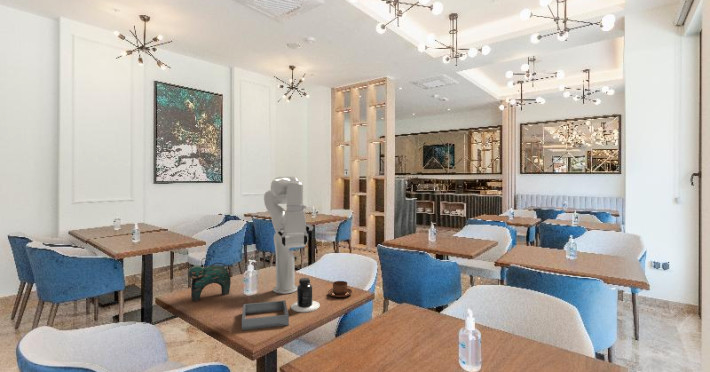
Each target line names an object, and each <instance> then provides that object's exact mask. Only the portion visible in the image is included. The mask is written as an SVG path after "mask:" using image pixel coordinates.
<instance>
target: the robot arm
mask: <svg viewBox="0 0 710 372" xmlns="http://www.w3.org/2000/svg"><path fill="white" fill-rule="evenodd" d="M263 202H264V207H265V208H266V211H267V212H268V214H269V215H270V218H271V222H272V227H273V229H274V231H275V232H274V234H273V242H274V247H275V248H274V250H275V251H274V252H275V286H274V287H273V289H272V292H273V293H275V294H283V295H285V294H291V293H295V292H297V287H298V286H297V285H295V282H296V281H295V276H296V275H295V255H294V254H293V252H292V251H291V249H293V248H302V247H303V248H304V247H305V246H307V245H308V242H309V237H308V236H309V235H310V234H311V233H312V231H313V229H314V226H313V225H311V224H309V223H307V222H306V219H307V218H306V213H305V209H307V206H306V205H304V185H303V183H302V182H301V181H300V180H299V179H298V177H295V176H277V177H275V178H274V179H273V180H272V181H271V183H270V189H269V190H267V191H266V192H265V193H264V195H263ZM281 205H286V210H285V209H284V207H282V206H281ZM307 227H308V228H309V229H308V230H307Z"/></svg>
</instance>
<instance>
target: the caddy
mask: <svg viewBox="0 0 710 372" xmlns="http://www.w3.org/2000/svg"><path fill="white" fill-rule="evenodd" d="M287 306H288V305H287V301H286V300H285V299H284V300H274V301H264V302H253V303H243V306H242V315H241V330H242V331H248V330H257V329H266V328H274V327H283V326H285V327H286V326H289V325H290V324H289V323H290V321H289V320H290V319H289V317H290V314H289V311H288V307H287ZM276 311H277V312H279V311H283V314H281V315H280V314H279V315H271V316H270V315H269V316H260V317H259V316H258V317H250V318H249V317H248V318H246V316H247V314H248V315H250V314H257V313H258V314H259V313H268V312H276Z"/></svg>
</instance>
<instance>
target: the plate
mask: <svg viewBox="0 0 710 372" xmlns="http://www.w3.org/2000/svg"><path fill="white" fill-rule="evenodd" d="M319 307H321V305H320V302H318V301H315V300H312V305H311V306H310V307H299V306H298V303H297V301H295V302H293V303H292V304H291V305H290V309H291V310H292V311H293V312H296V313H302V314H303V313H311V311H312V312H315V311H317V310H319V309H320V308H319ZM318 308H319V309H318Z"/></svg>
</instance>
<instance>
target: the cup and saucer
mask: <svg viewBox="0 0 710 372" xmlns="http://www.w3.org/2000/svg"><path fill="white" fill-rule="evenodd" d="M347 292H348V293H349V294H347V295H345V294H346V293H347ZM332 293H334V294H335V295H332ZM352 293H353V290H352V289H350V288H348V282H347V281H345V280H337V281H334V282H332V288H331V289H329V290H328V294H329V296H331V297H335V298H345V297H348V296H350V295H352Z"/></svg>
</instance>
